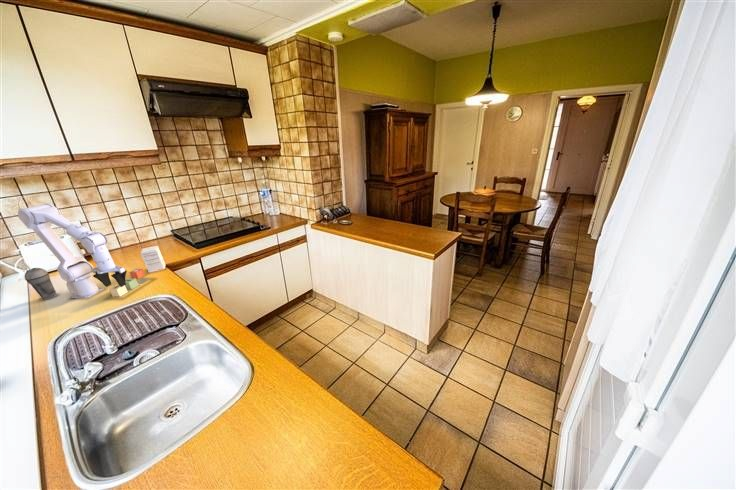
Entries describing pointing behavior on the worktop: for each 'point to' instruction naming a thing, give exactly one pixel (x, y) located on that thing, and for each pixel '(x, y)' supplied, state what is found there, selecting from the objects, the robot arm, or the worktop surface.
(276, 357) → the worktop surface
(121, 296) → the word mat
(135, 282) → the pale green cube
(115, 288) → the pale yellow cube
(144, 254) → the white packaging box
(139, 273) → the coral red cube
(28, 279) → the beverage cup
